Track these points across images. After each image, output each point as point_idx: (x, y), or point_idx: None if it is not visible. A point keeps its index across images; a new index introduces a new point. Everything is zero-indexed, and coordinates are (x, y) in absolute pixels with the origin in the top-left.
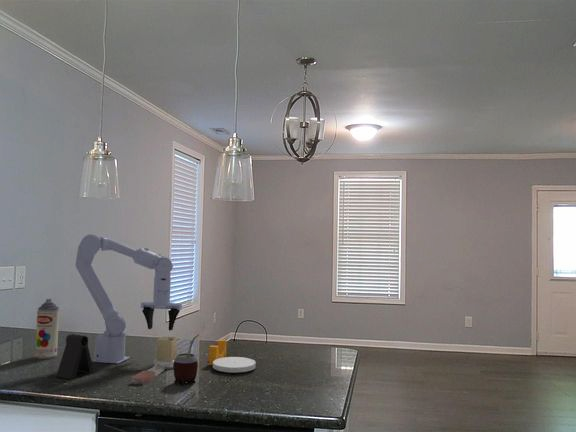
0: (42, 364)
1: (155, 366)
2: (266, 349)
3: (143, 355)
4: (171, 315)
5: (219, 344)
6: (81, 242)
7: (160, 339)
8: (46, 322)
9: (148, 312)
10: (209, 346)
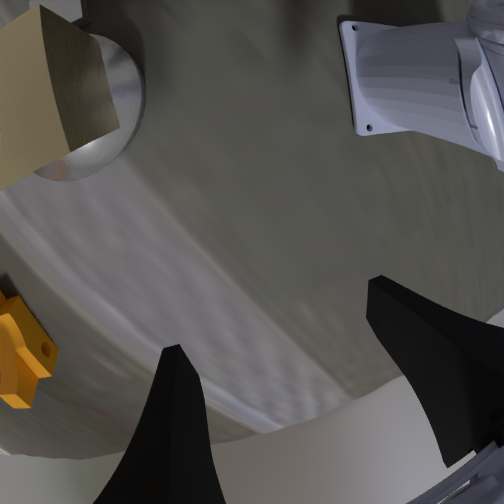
0: None
1: (70, 1)
2: (54, 436)
3: (329, 216)
4: (126, 494)
5: (13, 379)
6: None
7: (13, 29)
8: None
9: (498, 379)
10: None
